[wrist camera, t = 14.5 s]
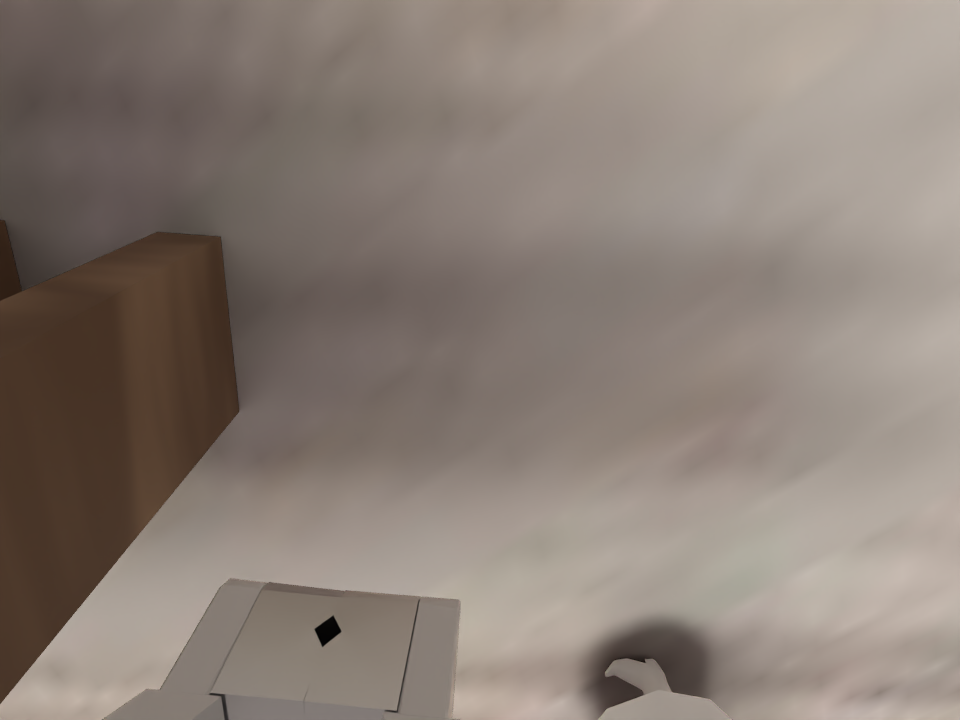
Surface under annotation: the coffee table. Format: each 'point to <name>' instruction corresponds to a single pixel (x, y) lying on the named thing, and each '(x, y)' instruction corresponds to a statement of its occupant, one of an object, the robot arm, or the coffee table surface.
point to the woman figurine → (656, 696)
